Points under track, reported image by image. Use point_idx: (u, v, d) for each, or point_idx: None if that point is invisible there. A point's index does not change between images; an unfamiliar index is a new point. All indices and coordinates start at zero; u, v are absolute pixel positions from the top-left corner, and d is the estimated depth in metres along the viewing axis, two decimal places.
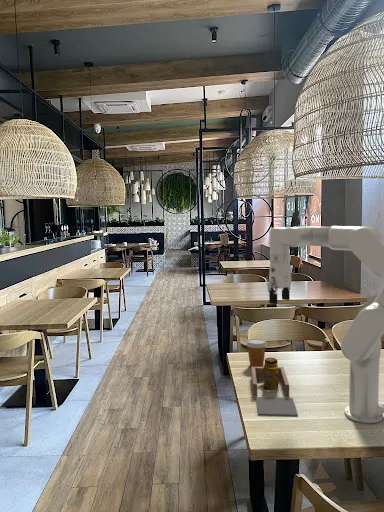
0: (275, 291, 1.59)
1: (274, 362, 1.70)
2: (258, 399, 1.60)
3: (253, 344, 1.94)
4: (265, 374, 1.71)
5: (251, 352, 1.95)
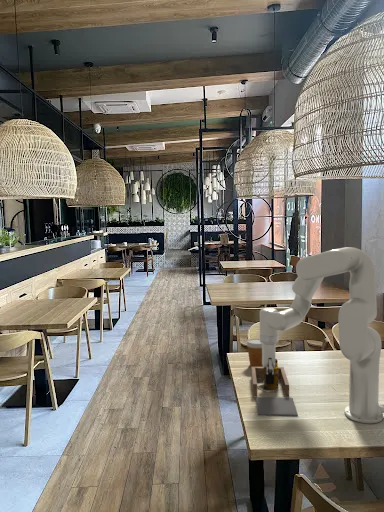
0: None
1: None
2: (258, 399, 1.60)
3: (253, 344, 1.94)
4: (265, 374, 1.71)
5: (251, 352, 1.95)
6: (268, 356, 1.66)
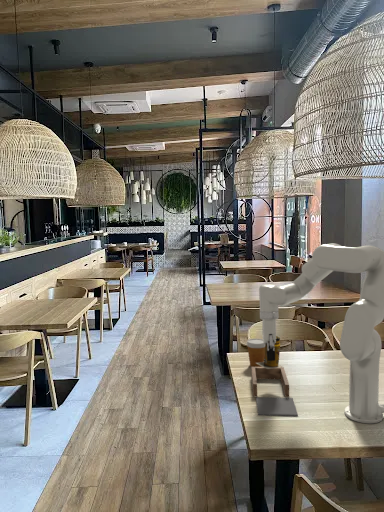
0: None
1: (276, 339, 1.68)
2: (258, 399, 1.60)
3: (253, 344, 1.94)
4: (266, 351, 1.69)
5: (251, 352, 1.95)
6: (269, 332, 1.65)
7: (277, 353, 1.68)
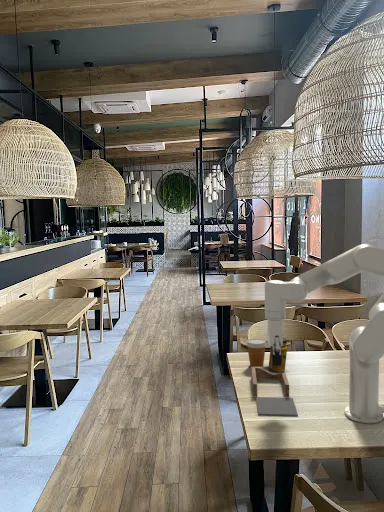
0: None
1: (283, 342, 1.50)
2: (258, 399, 1.60)
3: (253, 344, 1.94)
4: (271, 354, 1.52)
5: (251, 352, 1.95)
6: (275, 334, 1.47)
7: (284, 357, 1.51)
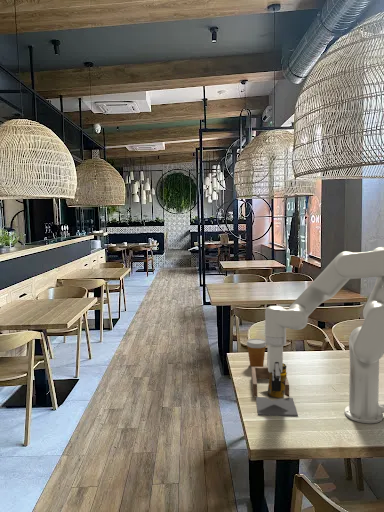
0: None
1: (283, 368, 1.51)
2: (258, 399, 1.60)
3: (253, 344, 1.94)
4: (271, 380, 1.52)
5: (251, 352, 1.95)
6: (275, 360, 1.48)
7: (283, 383, 1.51)
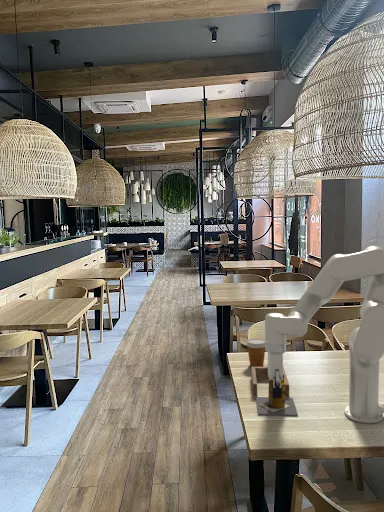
0: None
1: None
2: (258, 399, 1.60)
3: (253, 344, 1.94)
4: (270, 391, 1.53)
5: (251, 352, 1.95)
6: (275, 367, 1.48)
7: (282, 392, 1.52)
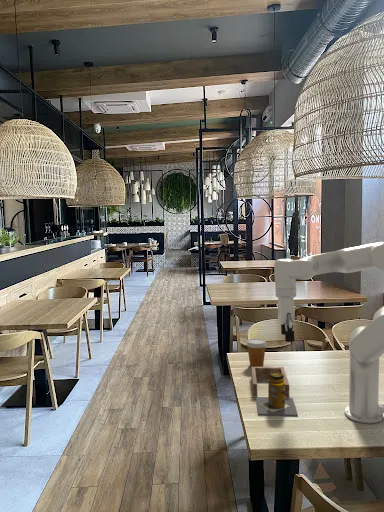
0: None
1: (280, 378, 1.51)
2: (258, 399, 1.60)
3: (253, 344, 1.94)
4: (270, 391, 1.53)
5: (251, 352, 1.95)
6: (286, 311, 1.49)
7: (282, 392, 1.52)
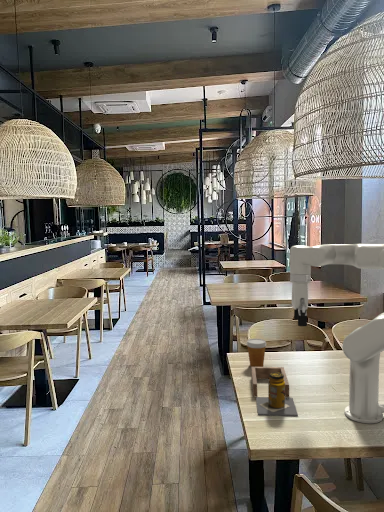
0: None
1: (280, 378, 1.51)
2: (258, 399, 1.60)
3: (253, 344, 1.94)
4: (270, 391, 1.53)
5: (251, 352, 1.95)
6: (300, 296, 1.52)
7: (282, 392, 1.52)
